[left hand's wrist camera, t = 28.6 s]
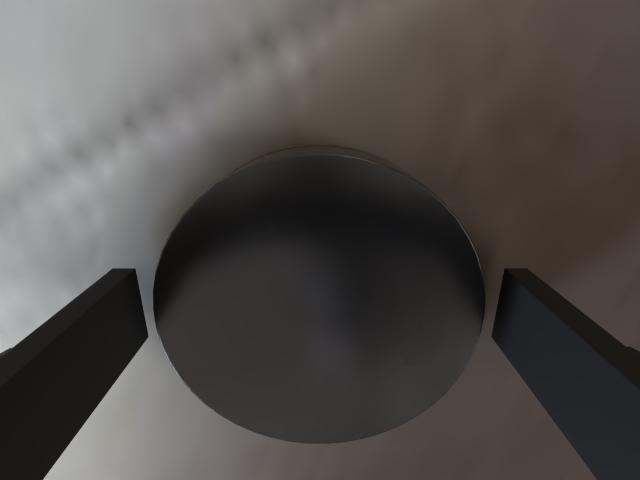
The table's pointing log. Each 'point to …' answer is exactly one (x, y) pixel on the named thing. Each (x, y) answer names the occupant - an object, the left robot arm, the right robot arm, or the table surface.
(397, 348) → the lid
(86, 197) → the table surface
